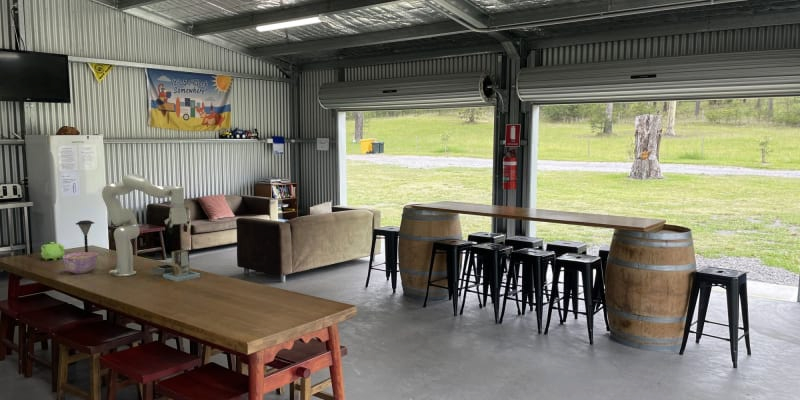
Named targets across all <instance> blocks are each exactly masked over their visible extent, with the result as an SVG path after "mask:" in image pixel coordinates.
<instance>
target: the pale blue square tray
mask: <svg viewBox="0 0 800 400" xmlns="http://www.w3.org/2000/svg"><path fill="white" fill-rule="evenodd" d="M162 278H163V279H164V278H165V280H168V279H169V280H168V281H171V280H172V282H175V283H179V282H183V281H184V282H185V281H189V280H190V281H191V280H194V279H199V278H201V273H198V272H196V271H192V270H190V275H188V276H183V277H174V276H173V273H167V274H163V277H162Z"/></svg>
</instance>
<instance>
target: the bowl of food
mask: <svg viewBox="0 0 800 400" xmlns="http://www.w3.org/2000/svg"><path fill="white" fill-rule="evenodd" d="M97 258H98V253H96V252H89V251H88V252H85V251H84V252H74V253H73V252H72V253H67V254H65V255H63V256H62V260H63V262H64V265H65V268H66V269H67V271H69V272H71V273H73V274H75V275H76V274H77V275H79V274H80V275H81V274H87V273H88V272H89V271H91V270H93V269H94V268H95V266H96V262H97Z"/></svg>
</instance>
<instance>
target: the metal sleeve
mask: <svg viewBox="0 0 800 400" xmlns="http://www.w3.org/2000/svg"><path fill="white" fill-rule="evenodd" d="M167 273H173V270H172V264H169V263H167V264H161V265H155V266H153V275H155V274H156V276H159V277H162V276H163V274H167Z"/></svg>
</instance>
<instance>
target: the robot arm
mask: <svg viewBox="0 0 800 400" xmlns="http://www.w3.org/2000/svg"><path fill="white" fill-rule="evenodd" d="M184 189H185V188H184V187H183V186H180V185H179V186H178V185H177V186H176V185H175V186H174V185H160V186H159V185H156V184H152V182H151V180H150V179H148V178H144V177H143V176H142V175H141V174H140V173H128V174H126V175H124V176H123V177H122V179H121V181H118V182H110V183H107V184H106V185H105V186H104V187H103V188H102V190H101V196H102V199H103V202H104V204H105V206H106V210H107V212H108V215H109V218H110V220H111V222H112V224H114V225H116V226H119V225H120V226H119V227H116V229H115V230H114V231H113V237H114V241H115V249H116V250H115V252H116V254H115V255H116V267H115V269H112V270H109V271H108V273H109V274H114V276H115V277H128V276H133V275H136V274H137V271H136V270H134V255H133V254H134V251H133V244H132V242H131V240H132V239H135V238H138V236H140V227H139V225H138V221H137V219H136V216H135V213H134V212H133V211H132V210H131V209H128V208H123V206H122V203H121V201H120V200H119V198H117V197H118V196H123V195H127V194H128V195H129V194H130V193H132V192H133V191H134V190H136V191H140V192H143V193H144V194H146V195H147V196H149V197H153V198H157V199H165V198H170V204H169V207H170V209H169V213H168V214H169V215H168V218H167V219H165V220H164V224H165V225H166V226H167V227H168V233H169V234H173V231H174V230H173V228H174V227H173V226H174V225H181V224H183V226H182V228H183V232H184V233H188V226H189V225H190V223H191V220H192V219H191V217H188V215H187V209H186V207H185V192H184V191H185V190H184ZM121 225H122V226H121Z"/></svg>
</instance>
